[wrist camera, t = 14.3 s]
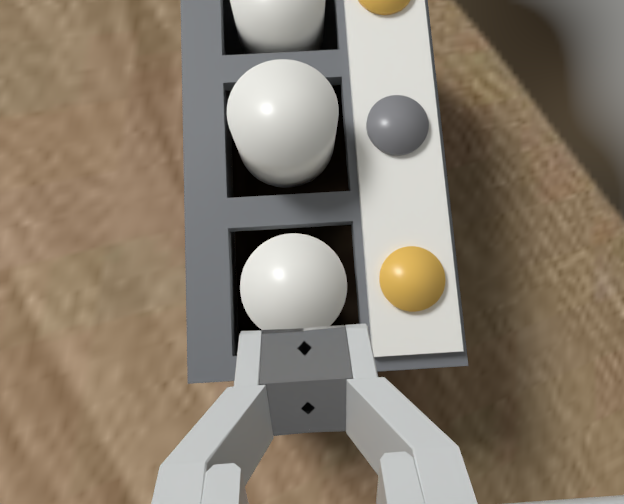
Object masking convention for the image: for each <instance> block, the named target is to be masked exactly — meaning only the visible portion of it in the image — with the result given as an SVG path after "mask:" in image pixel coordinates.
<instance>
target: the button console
mask: <svg viewBox="0 0 624 504" xmlns="http://www.w3.org/2000/svg"><path fill="white" fill-rule="evenodd" d="M425 7H426V16H427V25H428V34H429V43H430V52H431V61H432V70H433V79H434V88H435V97H436V107H437V116H438V125H439V134H440V143H441V152H442V161H443V170H444V179H445V188H446V197H447V206H448V215H449V224H450V233H451V242H452V251H453V260H454V269H455V278H456V287H457V296H458V305H459V314H460V323H461V332H462V341H463V350H464V351H460V352H445V353H429V354H413V355H397V356H382V357H374V359H375V364H376V369H377V372H378V371H393V370H409V369H424V368H440V367H456V366H468V359H467V350H466V341H465V332H464V323H463V314H462V305H461V296H460V287H459V278H458V269H457V260H456V251H455V242H454V233H453V224H452V215H451V206H450V197H449V189H448V180H447V171H446V162H445V153H444V144H443V135H442V126H441V117H440V108H439V99H438V90H437V81H436V72H435V63H434V54H433V45H432V36H431V27H430V19H429V10H428V1H427V0H425ZM181 44H182V97H183V151H184V205H185V258H186V312H187V366H188V384H190V383H206V382H222V381H235V371H236V361H237V352H238V342H239V331H238V303H237V275H236V247H235V231H252V230H269V229H286V228H303V227H321V226H338V225H351V226H352V239H353V252H354V266H355V279H356V292H357V305H358V318H359V324H366V325H367V326H368V330H369V335H370V340H371V334H370V322H369V309H368V297H367V284H366V272H365V259H364V247H363V234H362V222H361V209H360V197H359V184H358V172H357V159H356V147H355V134H354V122H353V109H352V97H351V85H350V72H349V60H348V47H347V35H346V22H345V10H344V0H325V16H324V34H323V42H322V45H321V48H320V50H318V51H299V52H279V53H260V54H245V53H244V52H243V50H242V48H241V45H240V41H239V37H238V33H237V28H236V24H235V20H234V16H233V12H232V7H231V3H230V0H181ZM277 59H289V60H295V61H299V62H302V63H305V64H308V65H309V66H311V67H313V68H315V69H316V70H318V71H319V72H320V73H321V74H322V75H323V76H324V77H325V78H326V79H327V80H328V81H329V83H330V84H331V85H341V96H342V109H343V122H344V135H345V148H346V161H347V174H348V187H349V191H340V192H322V193H305V194H287V195H269V196H252V197H234V192H233V164H232V136H231V131H230V129H229V125H228V121H227V103H228V99H229V96H230V91H232V89H233V87H234V85H235V84H236V82H237V81H238V80H239V79H240V77H241V76H242V75H243V74H245V73H246V72H247V71H248V70H250V69H251V68H253V67H254V66H256V65H258V64H261V63H263V62H266V61H271V60H277Z"/></svg>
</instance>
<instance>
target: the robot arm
mask: <svg viewBox="0 0 624 504" xmlns="http://www.w3.org/2000/svg"><path fill="white" fill-rule="evenodd" d="M309 429H310V430H309ZM333 431H346V433H347V435H348V436H349V437H350V439H351V440H352V441H353V443H354V444H355V445H356V447H357V448H358V449H359V451H360V452H361V453H362V454H363V456H364V457H365V458H366V460H367V461H368V462H369V464H370V465H371V466H372V468H373V469H374V470H375V472H376V473H377V474H378V487H377V498H376V504H478V503H477V500H476V497H475V494H474V491H473V488H472V485H471V482H470V479H469V476H468V473H467V470H466V467H465V464H464V461H463V458H462V455H461V452H460V449H459V446H458V445H457V444H455V443H454V442H453V441H452V440H451V439H450V438H449V437H448V436H447V435H446V434H445V433H444V432H443V431H442V430H441V429H439V428H438V427H437V426H436V425H435V424H434V423H433V422H432V421H431V420H430V419H429V418H428V417H427V416H426V415H425V414H423V413H422V412H421V411H420V410H419V409H418V408H417V407H416V406H415V405H414V404H413V403H412V402H411V401H410V400H409V399H407V398H406V397H405V396H404V395H403V394H402V393H401V392H400V391H399V390H398V389H397V388H396V387H395V386H394V385H393V384H391V383H390V382H389V381H388V380H387V379H386V378H385V377H378V374H377V369H376V364H375V359H374V354H373V350H372V345H371V340H370V335H369V330H368V326H367V325H366V324H351V325H345V326H344V325H338V326H324V327H310V328H298V329H272V330H258V331H241V333H240V335H239V342H238V352H237V361H236V371H235V381H234V387H227V388H226V390H225V391H224V392H223V393H222V394H221V395H220V397H219V398H218V399H217V400H216V401H215V402H214V404H213V405H212V406H211V407H210V408H209V409H208V411H207V412H206V413H205V414H204V415H203V416H202V418H201V419H200V420H199V421H198V422H197V423H196V425H195V426H194V427H193V428H192V429H191V430H190V432H189V433H188V434H187V435H186V436H185V437H184V439H183V440H182V441H181V442H180V443H179V444H178V446H177V447H176V448H175V449H174V450H173V451H172V453H171V454H170V455H169V456H168V457H167V458H166V460H165V461H164V462H163V463H162V464H161V465H160V468H159V472H158V477H157V481H156V486H155V490H154V494H153V499H152V503H151V504H249V503H248V499H247V494H246V490H245V485H246V484H247V482H248V480H249V479H250V477H251V475H252V474H253V472H254V470H255V468H256V467H257V465H258V463H259V462H260V460H261V458H262V457H263V455H264V453H265V452H266V450H267V448H268V447H269V445H270V443H271V441H272V440H273V436H277V435H287V434H298V433H309V432H333ZM507 504H624V495H620V496H606V497H591V498H577V499H563V500H549V501H535V502H521V503H507Z"/></svg>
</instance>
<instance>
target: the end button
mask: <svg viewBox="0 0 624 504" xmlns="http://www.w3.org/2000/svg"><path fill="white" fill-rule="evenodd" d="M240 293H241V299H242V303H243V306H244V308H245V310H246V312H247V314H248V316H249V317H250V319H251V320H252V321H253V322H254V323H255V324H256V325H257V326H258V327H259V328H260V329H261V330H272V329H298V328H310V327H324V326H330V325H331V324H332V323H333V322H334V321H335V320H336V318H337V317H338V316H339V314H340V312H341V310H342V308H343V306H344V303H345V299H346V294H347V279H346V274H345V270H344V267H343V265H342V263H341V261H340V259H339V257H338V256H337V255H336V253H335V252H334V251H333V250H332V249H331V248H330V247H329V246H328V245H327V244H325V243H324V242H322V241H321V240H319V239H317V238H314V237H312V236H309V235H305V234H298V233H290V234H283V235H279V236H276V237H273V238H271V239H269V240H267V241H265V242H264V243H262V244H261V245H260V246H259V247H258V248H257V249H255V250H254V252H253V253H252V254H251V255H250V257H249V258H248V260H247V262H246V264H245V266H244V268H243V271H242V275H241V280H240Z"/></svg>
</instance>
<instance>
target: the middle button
mask: <svg viewBox="0 0 624 504" xmlns="http://www.w3.org/2000/svg"><path fill="white" fill-rule="evenodd" d="M338 115H339V107H338V101H337V97H336V94H335V92H334V89H333V87H332V86H331V84H330V83H329V81H328V80H327V79H326V78H325V77H324V76H323V75H322V74H321V73H320V72H319V71H318V70H316V69H315V68H313V67H311V66H309V65H308V64H305V63H302V62H299V61H295V60H289V59H277V60H271V61H266V62H263V63H261V64H258V65H256V66H254V67H253V68H251V69H250V70H248V71H247V72H246V73H245V74H243V75H242V76H241V77H240V79H239V80H238V81H237V82H236V84H235V85H234V87H233V89H232V91H231V93H230V96H229V99H228V103H227V121H228V125H229V129H230V131H231V134H232V136H233V139H234V141H235V144H236V147H237V149H238V152H239V154H240V157H241V159H242V162H243V163H244V165H245V167H246V168H247V169H248V171H249V172H250V173H251V174H252V175H253V176H254V177H256V178H257V179H258V180H260V181H262V182H264V183H266V184H268V185H271V186H275V187H281V188H290V187H297V186H301V185H304V184H306V183H308V182H310V181H312V180H314V179H315V178H316V177H318V176H319V175H320V174H321V173H322V172H323V171H324V169H325V168H326V167H327V165H328V164H329V162H330V160H331V157H332V154H333V151H334V144H335V137H336V130H337V123H338Z"/></svg>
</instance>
